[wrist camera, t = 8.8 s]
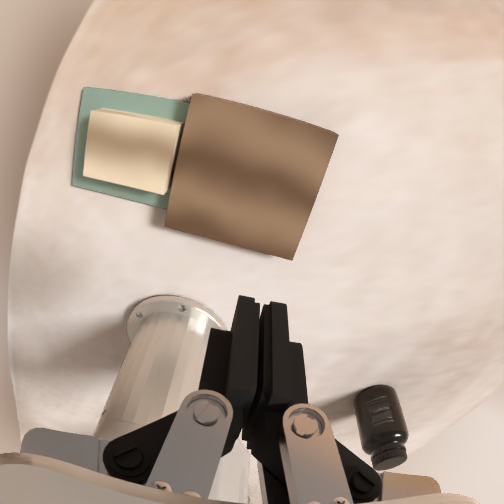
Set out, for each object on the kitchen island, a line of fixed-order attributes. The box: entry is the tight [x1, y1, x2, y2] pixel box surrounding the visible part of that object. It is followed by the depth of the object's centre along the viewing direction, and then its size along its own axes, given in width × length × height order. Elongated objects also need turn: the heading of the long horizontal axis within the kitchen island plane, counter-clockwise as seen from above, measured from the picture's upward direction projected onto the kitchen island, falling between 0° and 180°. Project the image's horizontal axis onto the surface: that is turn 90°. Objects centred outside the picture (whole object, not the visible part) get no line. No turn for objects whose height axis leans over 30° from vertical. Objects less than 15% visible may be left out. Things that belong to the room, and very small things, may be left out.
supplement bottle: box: [354, 385, 409, 471], centre depth 37 cm, size 7×7×12 cm
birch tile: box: [83, 108, 185, 195], centre depth 25 cm, size 6×8×2 cm
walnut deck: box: [165, 93, 339, 260], centre depth 27 cm, size 12×12×2 cm
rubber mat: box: [72, 87, 190, 209], centre depth 27 cm, size 10×11×1 cm
